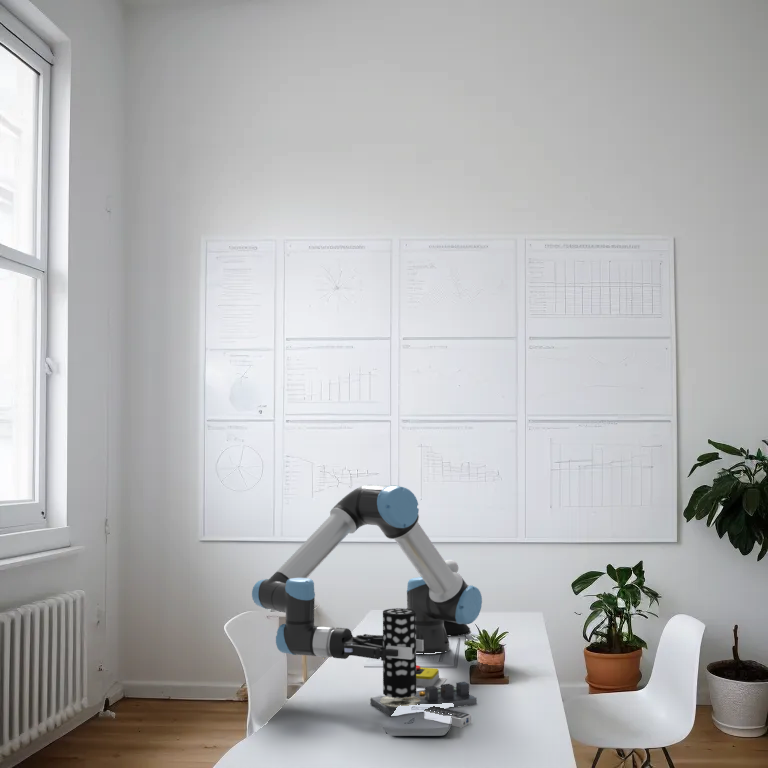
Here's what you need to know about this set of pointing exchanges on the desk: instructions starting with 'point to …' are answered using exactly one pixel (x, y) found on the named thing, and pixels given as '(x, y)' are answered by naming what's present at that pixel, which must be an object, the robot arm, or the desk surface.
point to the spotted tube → (398, 671)
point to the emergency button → (428, 677)
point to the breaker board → (455, 701)
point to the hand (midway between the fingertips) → (417, 649)
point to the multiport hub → (452, 716)
